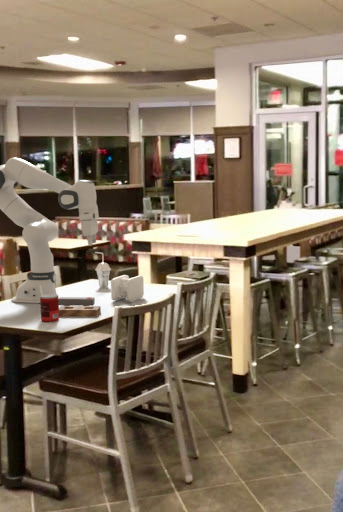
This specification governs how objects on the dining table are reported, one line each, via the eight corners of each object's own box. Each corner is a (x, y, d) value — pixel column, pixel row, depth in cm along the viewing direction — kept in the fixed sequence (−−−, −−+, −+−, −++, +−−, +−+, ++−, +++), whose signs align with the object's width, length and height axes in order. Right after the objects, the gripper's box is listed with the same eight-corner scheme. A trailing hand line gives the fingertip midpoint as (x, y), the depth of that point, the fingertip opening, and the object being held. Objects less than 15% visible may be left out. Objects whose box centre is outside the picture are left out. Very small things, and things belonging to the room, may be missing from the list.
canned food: (60, 318, 298) (59, 293, 297) (57, 322, 291) (57, 297, 289) (42, 318, 298) (41, 293, 297) (39, 322, 290) (38, 297, 289)
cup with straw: (112, 288, 368) (111, 251, 365) (95, 289, 366) (94, 252, 363) (110, 285, 376) (109, 249, 373) (93, 286, 374) (92, 250, 371)
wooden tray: (56, 316, 302) (56, 309, 302) (61, 312, 310) (61, 305, 310) (97, 316, 301) (97, 309, 300) (100, 312, 309) (100, 306, 308)
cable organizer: (129, 303, 328) (128, 279, 326) (110, 302, 332) (109, 278, 331) (144, 298, 341) (143, 275, 340) (125, 296, 346) (125, 273, 344)
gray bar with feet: (58, 311, 313) (58, 298, 312) (60, 309, 317) (60, 296, 316) (93, 311, 312) (92, 298, 311) (94, 309, 316) (94, 296, 315)
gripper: (86, 213, 329) (89, 242, 331) (78, 217, 309) (81, 247, 311) (99, 212, 329) (102, 240, 331) (91, 215, 309) (95, 246, 310)
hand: (92, 244), depth 321 cm, fingers open, 8 cm apart
